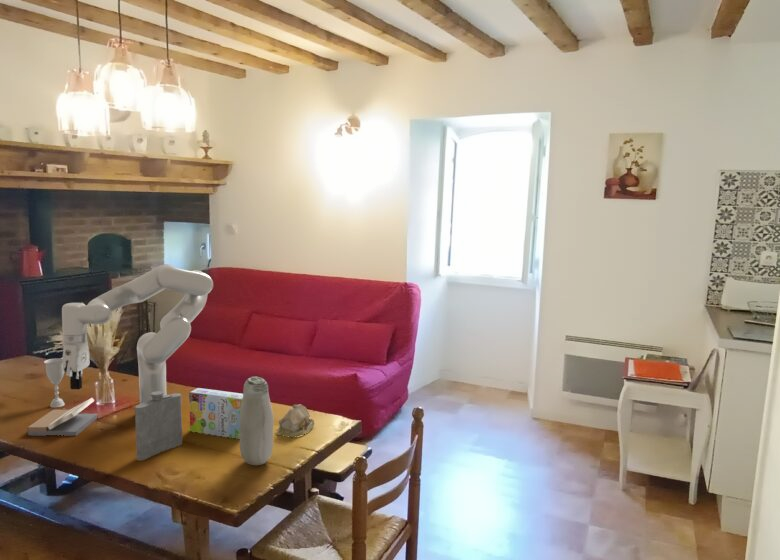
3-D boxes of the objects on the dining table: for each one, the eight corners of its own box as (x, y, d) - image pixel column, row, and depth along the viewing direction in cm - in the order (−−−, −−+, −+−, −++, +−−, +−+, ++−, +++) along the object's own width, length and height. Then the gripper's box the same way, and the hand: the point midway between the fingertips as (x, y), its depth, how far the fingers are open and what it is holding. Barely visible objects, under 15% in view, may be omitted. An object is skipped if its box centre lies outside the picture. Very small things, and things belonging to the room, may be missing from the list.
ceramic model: (294, 441, 193) (294, 414, 191) (270, 433, 198) (270, 407, 197) (319, 427, 205) (319, 401, 203) (295, 420, 210) (295, 395, 209)
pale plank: (94, 400, 205) (92, 397, 205) (73, 416, 191) (71, 413, 190) (72, 413, 206) (69, 409, 205) (49, 429, 191) (47, 426, 191)
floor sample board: (97, 417, 207) (97, 409, 206) (76, 435, 191) (75, 427, 191) (53, 417, 206) (53, 409, 206) (28, 435, 190) (27, 427, 190)
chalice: (71, 402, 221) (69, 358, 218) (60, 408, 214) (57, 364, 211) (54, 401, 221) (52, 357, 219) (42, 407, 215) (39, 362, 212)
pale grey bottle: (279, 462, 177) (279, 378, 172) (251, 473, 169) (251, 385, 165) (260, 452, 183) (260, 370, 179) (233, 462, 176) (232, 377, 171)
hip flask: (140, 461, 174) (138, 400, 171) (133, 457, 177) (130, 398, 174) (184, 444, 188) (182, 387, 185) (176, 440, 190) (175, 384, 187)
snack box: (250, 434, 197) (250, 393, 195) (241, 440, 191) (241, 399, 189) (198, 426, 202) (197, 386, 200) (188, 432, 197) (187, 391, 195)
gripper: (75, 343, 187) (76, 396, 189) (96, 333, 202) (97, 382, 204) (52, 343, 186) (53, 395, 189) (74, 332, 201) (76, 381, 204)
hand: (76, 388), depth 196 cm, fingers closed
